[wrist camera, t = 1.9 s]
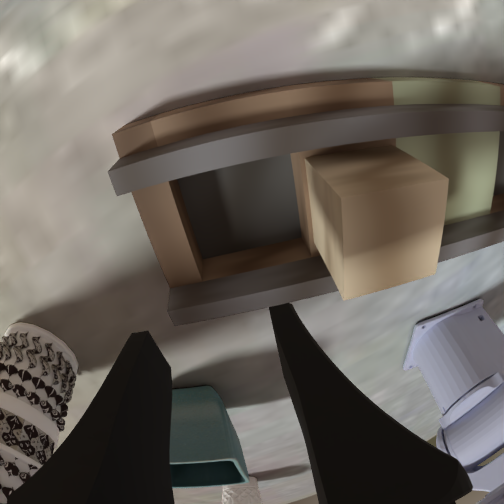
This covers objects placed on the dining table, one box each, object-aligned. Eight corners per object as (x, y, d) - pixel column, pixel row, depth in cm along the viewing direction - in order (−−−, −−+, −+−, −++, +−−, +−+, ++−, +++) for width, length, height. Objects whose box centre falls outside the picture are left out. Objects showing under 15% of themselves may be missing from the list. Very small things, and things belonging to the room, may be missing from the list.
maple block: (392, 144, 15) (448, 178, 11) (391, 224, 18) (435, 273, 14) (304, 157, 15) (341, 197, 11) (314, 242, 18) (343, 300, 14)
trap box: (534, 89, 15) (572, 103, 11) (521, 210, 22) (551, 234, 18) (125, 124, 15) (98, 144, 11) (185, 292, 22) (182, 340, 18)
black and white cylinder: (-13, 319, 21) (-82, 547, 1) (56, 317, 22) (-1, 611, 1) (29, 377, 26) (-7, 575, 6) (96, 381, 27) (77, 613, 6)
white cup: (255, 483, 52) (261, 524, 43) (217, 485, 50) (221, 527, 42) (263, 473, 48) (270, 519, 39) (220, 475, 46) (225, 522, 38)
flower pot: (227, 369, 27) (236, 459, 20) (242, 412, 32) (251, 483, 25) (138, 378, 27) (129, 463, 20) (167, 419, 32) (166, 488, 24)
